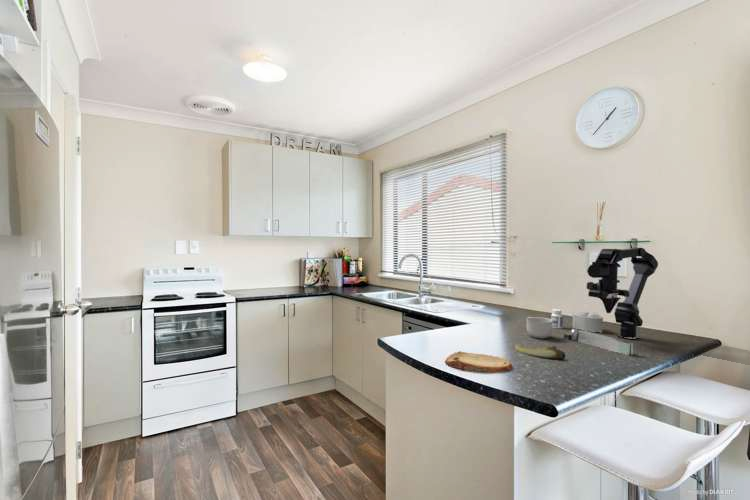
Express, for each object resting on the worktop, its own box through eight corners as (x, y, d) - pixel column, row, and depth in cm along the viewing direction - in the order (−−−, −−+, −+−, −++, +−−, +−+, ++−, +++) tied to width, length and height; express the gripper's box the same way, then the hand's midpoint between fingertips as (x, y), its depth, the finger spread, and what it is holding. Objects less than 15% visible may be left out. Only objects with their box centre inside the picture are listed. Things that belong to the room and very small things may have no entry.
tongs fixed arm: (563, 338, 157) (563, 328, 157) (570, 337, 158) (570, 327, 158) (625, 355, 132) (625, 343, 132) (632, 354, 134) (632, 342, 134)
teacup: (556, 340, 153) (557, 322, 153) (531, 339, 153) (532, 321, 153) (542, 332, 167) (542, 315, 167) (519, 332, 167) (519, 315, 167)
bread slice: (517, 369, 117) (517, 357, 117) (484, 380, 106) (484, 368, 106) (472, 355, 131) (473, 344, 131) (439, 364, 120) (439, 353, 120)
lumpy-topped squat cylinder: (584, 326, 182) (585, 309, 182) (608, 332, 170) (609, 314, 170) (569, 327, 179) (569, 310, 179) (592, 333, 167) (593, 315, 166)
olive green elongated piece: (570, 357, 130) (569, 348, 130) (559, 363, 123) (559, 353, 123) (517, 346, 144) (517, 338, 144) (505, 351, 137) (505, 343, 137)
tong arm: (581, 341, 152) (581, 330, 152) (582, 340, 153) (582, 330, 153) (631, 355, 133) (631, 343, 133) (632, 354, 134) (633, 342, 134)
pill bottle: (560, 326, 181) (560, 309, 181) (564, 328, 176) (564, 311, 176) (549, 326, 181) (549, 308, 181) (553, 328, 176) (553, 310, 176)
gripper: (605, 275, 165) (604, 308, 165) (577, 276, 158) (576, 310, 158) (630, 277, 155) (629, 313, 155) (601, 278, 148) (600, 315, 148)
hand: (608, 313), depth 154 cm, fingers closed
